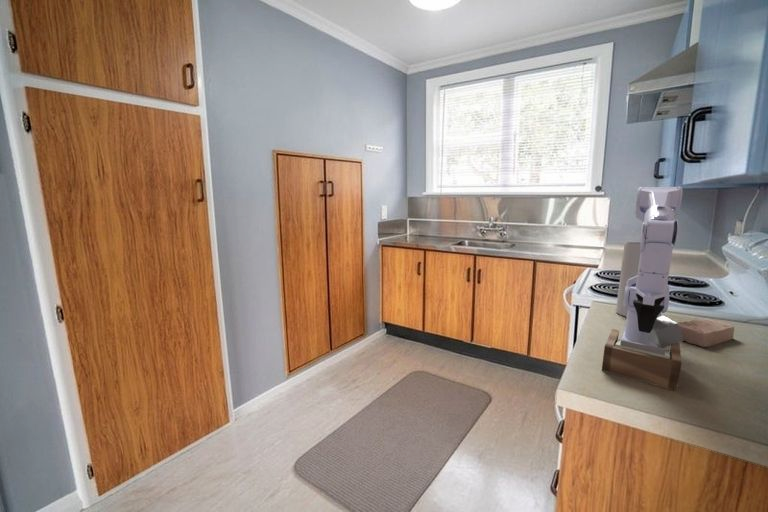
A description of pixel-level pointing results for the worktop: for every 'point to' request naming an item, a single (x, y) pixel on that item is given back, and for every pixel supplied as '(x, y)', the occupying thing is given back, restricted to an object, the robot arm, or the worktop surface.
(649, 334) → the grey cube
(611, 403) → the worktop surface
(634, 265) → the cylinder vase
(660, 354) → the trapdoor
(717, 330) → the brick
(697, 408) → the worktop surface
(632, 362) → the frame
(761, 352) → the worktop surface
